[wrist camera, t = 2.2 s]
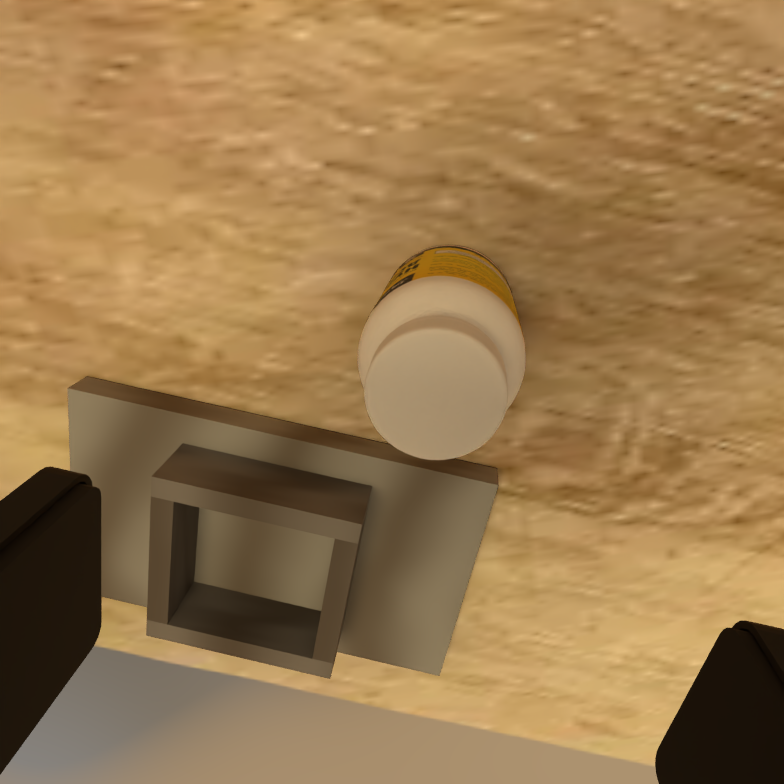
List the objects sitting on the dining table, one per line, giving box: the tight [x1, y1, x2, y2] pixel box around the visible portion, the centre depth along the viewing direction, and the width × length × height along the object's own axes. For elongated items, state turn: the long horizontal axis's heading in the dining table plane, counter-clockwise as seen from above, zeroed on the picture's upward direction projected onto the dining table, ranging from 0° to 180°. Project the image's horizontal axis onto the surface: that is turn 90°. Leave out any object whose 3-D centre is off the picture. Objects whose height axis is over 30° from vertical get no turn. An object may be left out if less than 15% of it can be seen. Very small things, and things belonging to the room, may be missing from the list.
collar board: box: [68, 377, 499, 679], centre depth 28 cm, size 20×12×4 cm, turn 79°
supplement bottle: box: [358, 245, 526, 460], centre depth 21 cm, size 5×5×10 cm
